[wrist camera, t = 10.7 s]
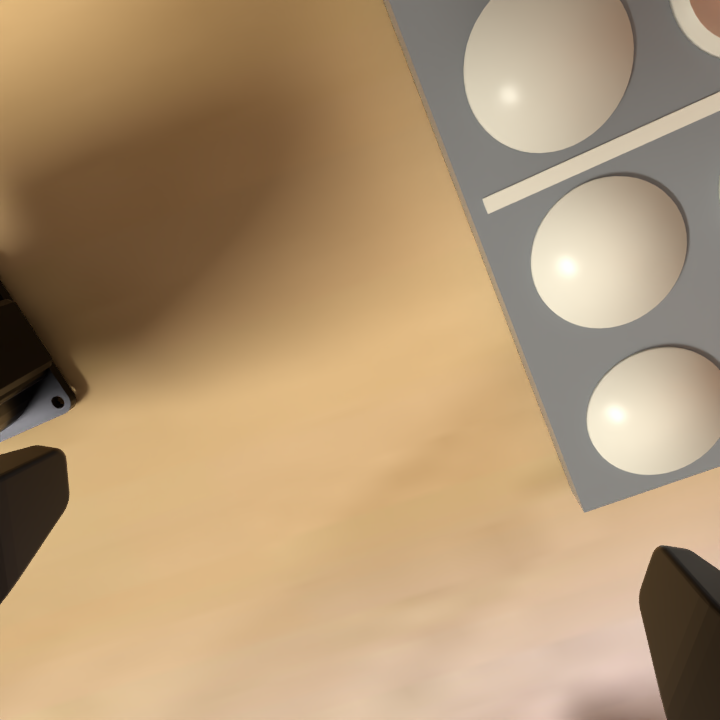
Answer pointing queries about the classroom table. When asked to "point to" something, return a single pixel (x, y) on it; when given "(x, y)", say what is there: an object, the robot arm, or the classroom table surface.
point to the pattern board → (591, 213)
